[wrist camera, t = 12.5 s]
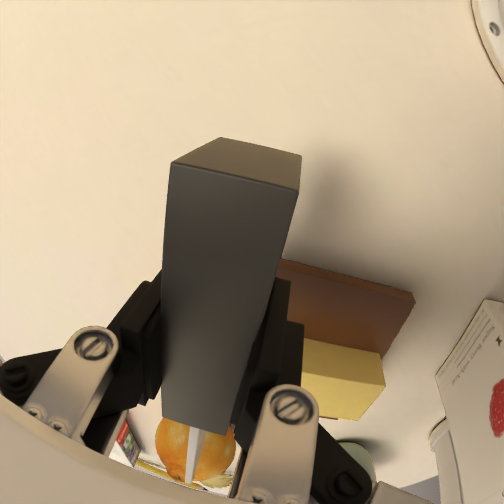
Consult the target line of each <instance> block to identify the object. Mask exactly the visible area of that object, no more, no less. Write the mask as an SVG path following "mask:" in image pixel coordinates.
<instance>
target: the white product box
mask: <svg viewBox="0 0 504 504" xmlns="http://www.w3.org/2000/svg"><path fill="white" fill-rule="evenodd" d="M435 379H436V382H437V385H438V388H439V392H440V395H441V399H442V402H443V405H444V409H445V413H446V416H447V420H448V424H449V428H450V432H451V436H452V440H453V444H454V448H455V453H456V457H457V462H458V467H459V473H460V478H461V483H462V489H463V496H464V502H465V504H504V303H502V302H497V301H492V300H487V299H485V300H484V301H483V302H482V304H481V306H480V308H479V310H478V312H477V313H476V315H475V317H474V318H473V320H472V322H471V323H470V325H469V327H468V328H467V330H466V331H465V333H464V335H463V336H462V338H461V339H460V341H459V342H458V344H457V345H456V347H455V348H454V350H453V351H452V353H451V354H450V356H449V357H448V359H447V360H446V362H445V363H444V364H443V366H442V367H441V369H440V370H439V371H438V373H437V374H436V376H435Z"/></svg>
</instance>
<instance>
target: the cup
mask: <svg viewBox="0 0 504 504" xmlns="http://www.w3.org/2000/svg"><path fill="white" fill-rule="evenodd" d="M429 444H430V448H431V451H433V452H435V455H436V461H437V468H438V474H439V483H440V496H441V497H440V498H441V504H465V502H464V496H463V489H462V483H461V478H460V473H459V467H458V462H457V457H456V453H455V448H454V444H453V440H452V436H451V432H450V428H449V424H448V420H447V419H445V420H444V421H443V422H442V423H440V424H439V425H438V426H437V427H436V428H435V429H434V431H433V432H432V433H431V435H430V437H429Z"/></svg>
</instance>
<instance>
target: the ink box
mask: <svg viewBox="0 0 504 504" xmlns="http://www.w3.org/2000/svg"><path fill="white" fill-rule="evenodd" d="M139 454H140V449H139V447H138V445H137V443H136V441H135V439H134V437H133V435H132V433H131V431H130V429H129V427H128V424H127V422H126V420H124V423H123V425H122V427H121V430H120V432H119V434H118V436H117V439H116V441H115V443H114V446H113V448H112V450H111V453H110V455H109V457H108V458H111V459H113V460H115V461H118V462H120V463H123V464H126V465H128V466H131V467H133V468H134V465H135V463H136V461H137V458H138V456H139Z"/></svg>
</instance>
